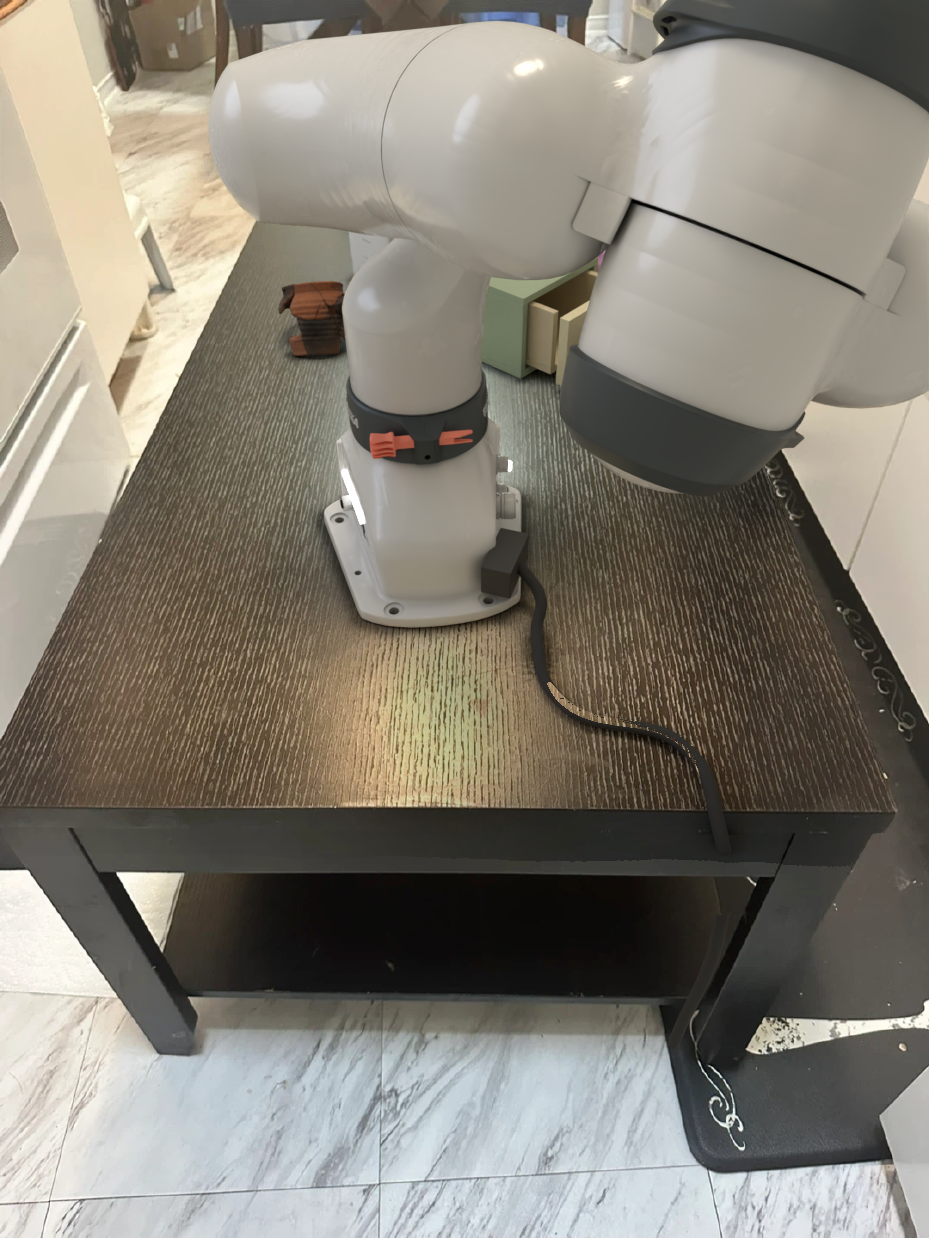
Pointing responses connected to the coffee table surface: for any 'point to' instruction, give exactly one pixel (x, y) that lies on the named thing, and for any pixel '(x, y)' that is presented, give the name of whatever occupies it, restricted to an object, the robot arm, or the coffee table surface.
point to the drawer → (557, 323)
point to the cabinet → (514, 319)
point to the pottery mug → (315, 316)
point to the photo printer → (365, 247)
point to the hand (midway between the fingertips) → (629, 338)
